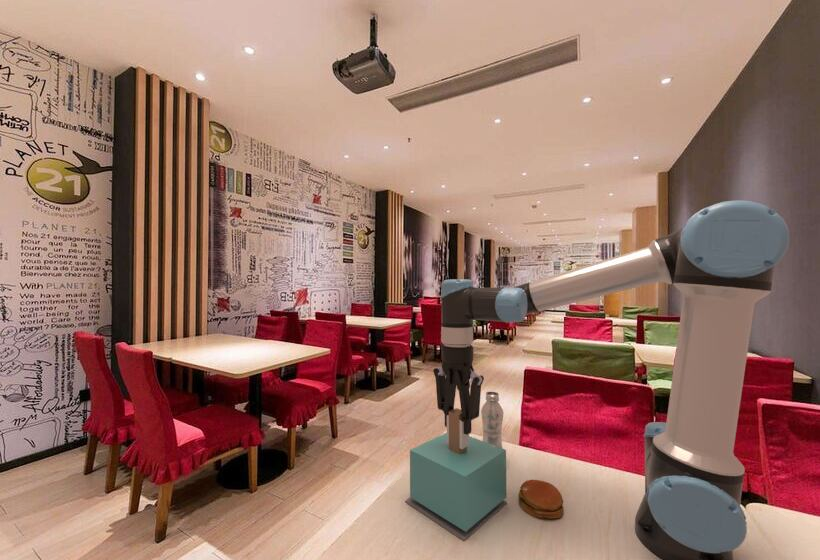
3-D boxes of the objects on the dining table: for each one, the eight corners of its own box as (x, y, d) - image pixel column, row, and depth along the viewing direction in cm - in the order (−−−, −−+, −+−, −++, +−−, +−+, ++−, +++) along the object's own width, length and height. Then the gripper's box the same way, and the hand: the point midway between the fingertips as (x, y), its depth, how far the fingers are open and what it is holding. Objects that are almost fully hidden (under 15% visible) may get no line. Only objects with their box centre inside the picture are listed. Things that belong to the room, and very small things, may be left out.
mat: (507, 503, 80) (507, 501, 80) (463, 541, 68) (463, 539, 68) (450, 474, 92) (450, 473, 92) (405, 502, 80) (405, 500, 80)
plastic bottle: (503, 458, 101) (503, 390, 101) (504, 470, 94) (504, 398, 94) (480, 455, 102) (481, 389, 103) (480, 467, 96) (480, 396, 96)
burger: (572, 516, 76) (572, 495, 76) (538, 525, 73) (538, 503, 73) (542, 491, 85) (542, 472, 85) (510, 498, 82) (510, 479, 82)
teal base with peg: (506, 497, 80) (505, 411, 80) (465, 531, 68) (465, 431, 69) (452, 471, 91) (452, 396, 91) (410, 497, 80) (409, 411, 80)
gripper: (495, 346, 77) (496, 450, 77) (441, 339, 89) (441, 429, 88) (476, 350, 72) (477, 462, 72) (421, 342, 84) (422, 438, 83)
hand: (457, 444), depth 80 cm, fingers closed on teal base with peg, 3 cm apart
